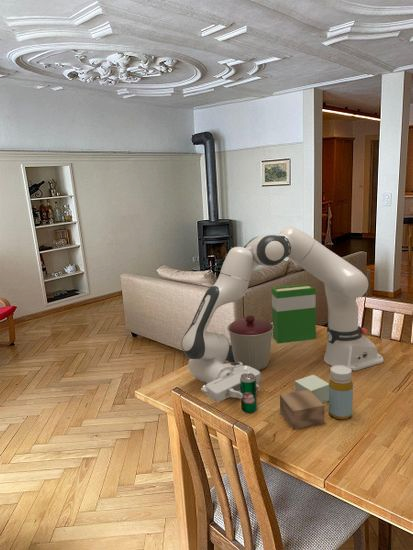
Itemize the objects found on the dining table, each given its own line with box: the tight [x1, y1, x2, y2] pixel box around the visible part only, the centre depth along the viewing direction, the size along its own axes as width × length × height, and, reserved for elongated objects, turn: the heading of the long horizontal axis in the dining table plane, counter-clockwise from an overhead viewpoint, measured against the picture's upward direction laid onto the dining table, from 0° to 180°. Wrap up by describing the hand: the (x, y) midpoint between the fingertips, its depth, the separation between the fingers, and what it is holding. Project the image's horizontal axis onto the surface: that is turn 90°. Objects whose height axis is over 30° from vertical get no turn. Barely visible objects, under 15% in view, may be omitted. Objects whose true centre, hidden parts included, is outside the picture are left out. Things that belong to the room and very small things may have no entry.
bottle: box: [328, 365, 354, 420], centre depth 125 cm, size 7×7×15 cm
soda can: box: [240, 373, 258, 414], centre depth 131 cm, size 5×5×12 cm
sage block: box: [294, 374, 329, 404], centre depth 136 cm, size 8×8×6 cm
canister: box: [226, 314, 274, 372], centre depth 161 cm, size 18×18×21 cm
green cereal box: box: [271, 283, 317, 345], centre depth 185 cm, size 18×7×24 cm, turn 98°
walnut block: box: [279, 389, 325, 430], centre depth 126 cm, size 10×10×6 cm
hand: (250, 392), depth 130 cm, fingers closed on soda can, 5 cm apart
